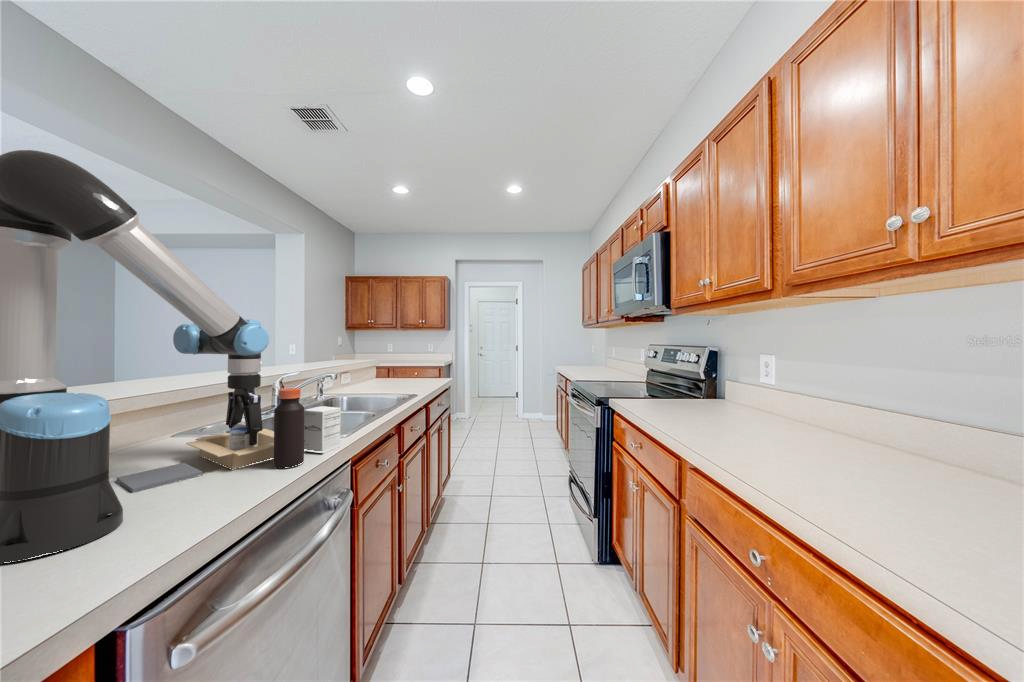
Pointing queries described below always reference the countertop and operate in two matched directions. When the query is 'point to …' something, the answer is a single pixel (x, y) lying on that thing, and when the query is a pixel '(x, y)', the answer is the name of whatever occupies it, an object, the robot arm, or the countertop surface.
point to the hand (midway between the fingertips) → (243, 453)
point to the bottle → (288, 429)
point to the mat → (157, 477)
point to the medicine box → (238, 436)
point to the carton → (220, 452)
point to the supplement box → (321, 428)
